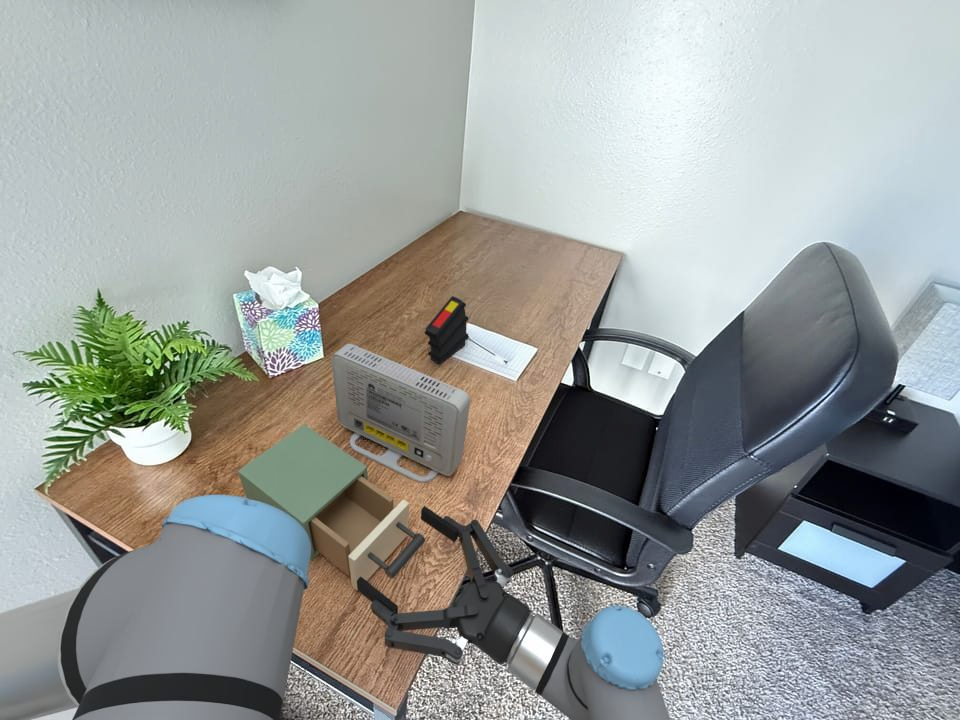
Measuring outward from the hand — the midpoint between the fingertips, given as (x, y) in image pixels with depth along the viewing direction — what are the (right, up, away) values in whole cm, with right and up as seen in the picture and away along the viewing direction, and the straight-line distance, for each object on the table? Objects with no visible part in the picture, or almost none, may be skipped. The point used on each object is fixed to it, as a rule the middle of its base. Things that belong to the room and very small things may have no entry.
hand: (392, 545), depth 67 cm
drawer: (-6, -3, +6) cm, 9 cm away
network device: (-3, +9, +23) cm, 25 cm away
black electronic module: (+4, +28, +48) cm, 56 cm away
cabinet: (-16, +2, +11) cm, 20 cm away
